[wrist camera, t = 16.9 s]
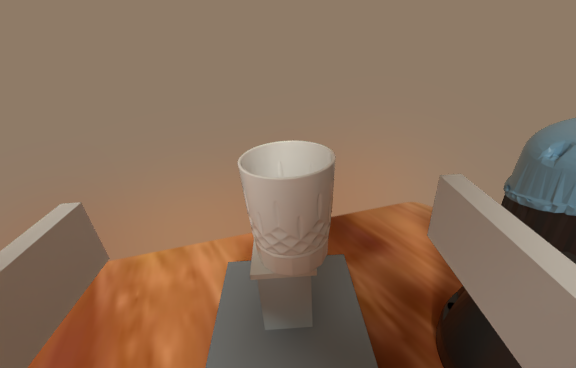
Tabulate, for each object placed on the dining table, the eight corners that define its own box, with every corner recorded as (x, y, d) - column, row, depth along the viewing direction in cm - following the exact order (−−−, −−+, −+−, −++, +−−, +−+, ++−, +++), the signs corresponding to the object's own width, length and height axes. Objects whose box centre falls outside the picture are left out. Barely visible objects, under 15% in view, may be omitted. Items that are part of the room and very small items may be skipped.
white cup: (276, 220, 32) (268, 137, 27) (343, 236, 29) (347, 145, 24) (236, 267, 26) (217, 169, 21) (316, 294, 23) (313, 186, 18)
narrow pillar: (343, 262, 39) (346, 202, 35) (380, 389, 25) (393, 316, 21) (230, 270, 39) (217, 210, 35) (203, 401, 25) (176, 331, 21)
